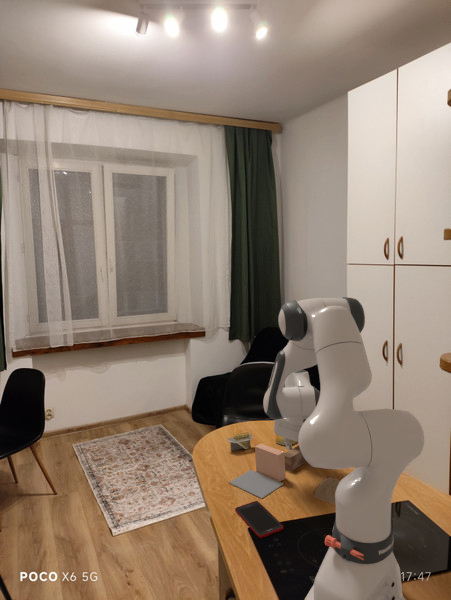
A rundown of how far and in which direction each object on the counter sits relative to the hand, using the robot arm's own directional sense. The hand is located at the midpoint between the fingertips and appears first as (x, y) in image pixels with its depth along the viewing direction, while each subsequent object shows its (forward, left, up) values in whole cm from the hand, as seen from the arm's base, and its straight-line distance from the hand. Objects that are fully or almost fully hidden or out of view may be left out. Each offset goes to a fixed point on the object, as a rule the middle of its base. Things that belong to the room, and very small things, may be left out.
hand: (300, 453), depth 149 cm
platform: (-7, +22, -4) cm, 23 cm away
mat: (-21, +2, -3) cm, 22 cm away
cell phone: (-35, -11, -3) cm, 37 cm away
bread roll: (+10, +14, -3) cm, 18 cm away
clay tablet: (-9, -20, -4) cm, 22 cm away
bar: (0, 0, -3) cm, 3 cm away
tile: (-14, +2, -3) cm, 15 cm away
